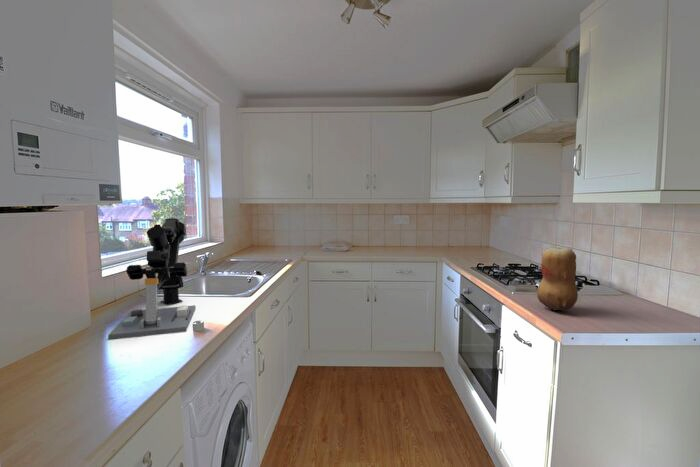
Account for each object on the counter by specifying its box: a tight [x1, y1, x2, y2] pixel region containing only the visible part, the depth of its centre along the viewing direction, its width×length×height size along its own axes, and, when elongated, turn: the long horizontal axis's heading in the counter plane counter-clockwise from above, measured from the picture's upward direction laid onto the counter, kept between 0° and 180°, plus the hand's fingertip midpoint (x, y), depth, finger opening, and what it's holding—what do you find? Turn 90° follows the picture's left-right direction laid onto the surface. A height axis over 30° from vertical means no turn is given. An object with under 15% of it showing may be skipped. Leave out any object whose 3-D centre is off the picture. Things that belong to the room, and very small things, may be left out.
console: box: [107, 305, 196, 340], centre depth 120 cm, size 24×22×4 cm
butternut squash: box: [536, 246, 579, 312], centre depth 131 cm, size 14×13×25 cm
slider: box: [177, 308, 187, 317], centre depth 122 cm, size 2×3×2 cm, turn 107°
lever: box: [144, 277, 158, 326], centre depth 113 cm, size 2×4×16 cm, turn 107°
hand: (155, 291), depth 118 cm, fingers closed
